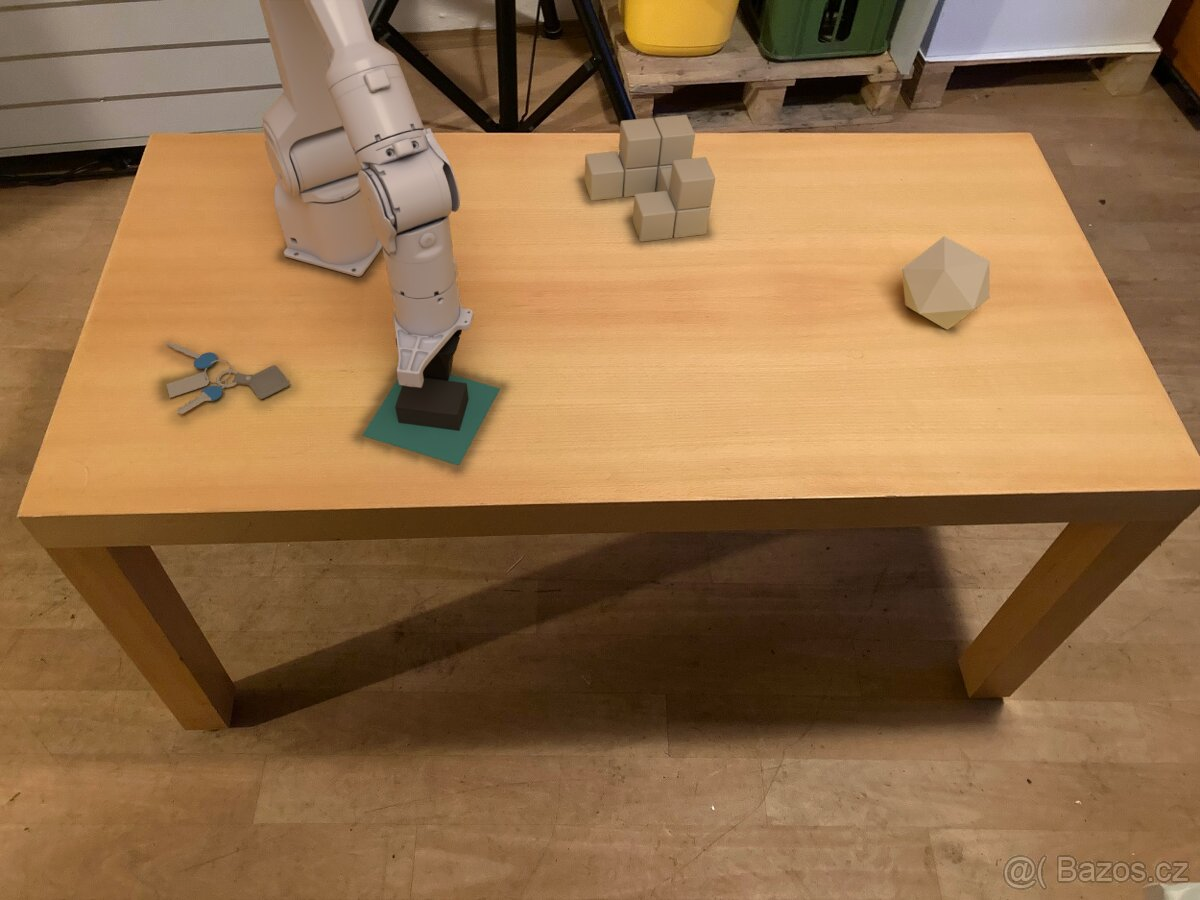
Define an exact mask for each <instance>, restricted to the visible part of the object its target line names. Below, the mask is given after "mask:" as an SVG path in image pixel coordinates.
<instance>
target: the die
mask: <svg viewBox="0 0 1200 900" xmlns="http://www.w3.org/2000/svg"><path fill="white" fill-rule="evenodd" d="M990 262H991V261H990V260H989V259H988V258H986V257H984V256H982V255H981V254H979V253H977V252H975V251H973V250H971V249H970V248H968V247H965V246H964V245H962V244H961V243H959V242H956V241H955V240H953V239H951V238H949V237H947V236H945V235H944V236H942V237H941V238H940V239H938V240H937V241H936V242H934V243H933V244H932V245H931V246H929V247H928V248H927V249H926V250H924V251H923V252H922V253H920V254H919V255H918V256H916V257H915V258H914V259H913V260H911V261H910V262H909V263H907V264H906V265H905V266H904V267H902V268H901V272H902V285H903V296H904V297H903V298H904V305H905V306H906V307H907V308H909V309H910V310H912V311H914V312H915V313H916V314H919V315H920V316H922V317H924V318H926V319H928V320H929V321H931V322H933V323H934V324H936V325H938V326H939V327H940V328H943V329H945V331H946V330H947V331H949V329H951V328H952V327H954V326H956V324H958V323H960V321H961V320H963V319H964V318H966V317H967V316H969V315H970V314H971V313H973V312H974V311H975V310H977V309H978V308H979V307H980V306H982V305H983V304H984V303H985V302H987V301H989V300H990V299H991V297H990V290H991V289H990V285H991V284H990V283H991V282H990V281H991V280H990V279H991V278H990V273H991V272H990V271H991V270H990V269H991V267H990V265H991V264H990Z"/></svg>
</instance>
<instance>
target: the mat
mask: <svg viewBox="0 0 1200 900" xmlns="http://www.w3.org/2000/svg"><path fill="white" fill-rule="evenodd" d="M423 377H424V376H423ZM448 381H454V382H461V383H467V390H468V398H469V400H468V403H467V407H466V410H465V414H464V417H463V421H462V424H461V428H460V431H456V430H449V429H441V428H434V427H426V426H419V425H412V424H404V423H399V422H398V418H397V413H396V409H395V405H396V402H397V399H398V397H399V394H400V391H401V388H402V385H399V381H398V378H397V379H396V380H395V382H394V384H393V385H392V387H391V389H390V390H389V391H388V394H387V395H386V397H385V398H384V399H383V402H382V403H381V405H379V408H378V410H377V411H376V412H375V414H374V416H373V418H372V419H371V420H370V422H369V424H368V426H367V427H366V428H365V430H364V431H363V433H362V437H365V438H368V439H372V440H375V441H378V442H381V443H383V444H384V443H385V444H387V445H391V446H393V447H397V448H401V449H404V450H406V451H407V450H408V451H410V452H414V453H416V454H420V455H423V456H425V457H426V456H427V457H430V458H433V459H435V460H439V461H443V462H445V463H449V464H452V465H456V466H460V465H461V463H462V462H463V459H464V457H465V455H466V454H467V452H468V450H469V448H470V446H471V445H472V443H473V440H474V439H475V438H476V435H477V433H478V431H479V429H480V427H481V425H482V423H483V422H484V420H485V418H486V416H487V414H488V412H489V411H490V408H491V407H492V405H493V403H494V401H495V400H496V398H497V396H498V393H499V392H500V390H501V388H500V387H498V386H497V387H496V386H493V385H490V384H487V383H483V382H479V381H477V380H473V379H470V378H467V377H463V376H460V375H456V374H452V373H450V377H449V380H448Z"/></svg>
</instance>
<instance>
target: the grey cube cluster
mask: <svg viewBox="0 0 1200 900" xmlns="http://www.w3.org/2000/svg"><path fill="white" fill-rule="evenodd" d="M619 125H620V128H619V142H618V151H617V150H614V151H605V152H596V153H595V152H593V153H586V154H585V156H584V181H583V182H584V185H585V187H586V190H587V193H588V196H589V199H590V201H601V200H611V199H621V198H623V197H624V198H630V197H634V199H633V207H632V223H633V226H634V229H635V232H636V234H637V237H638V240H639V242H640V243H642V242H651V241H659V240H661V241H662V240H668V239H669V240H670V239H672V238H674V239H678V238H686V237H694V236H704V235H706V234H707V231H708V224H709V217H710V213H711V206H712V201H713V195H714V189H715V188H714V187H715V182H716V177H715V174H714V172H713V170H712V168H711V165H710V163H709V161H708V159H707V157H705V156H703V157H693V152H694V145H695V138H696V133H695V130H694V129H693V126H692V123H691V121H690V120H689V117H688V115H687V114H680V115H668V116H657V117H655V118H653V117H647V118H637V119H627V120H626V119H625V120H621V121H620V124H619Z"/></svg>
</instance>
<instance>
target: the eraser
mask: <svg viewBox="0 0 1200 900" xmlns="http://www.w3.org/2000/svg"><path fill="white" fill-rule="evenodd" d="M423 378H424V377H423ZM468 400H469V398H468V390H467V383H461V382H454V381H446V380H439V379H431V378H424V382H423V385H422V387H421V388H419V387H409V386H403V385H402V388H401V391H400V394H399V397H398V399H397V402H396V405H395V409H396V413H397V418H398V422H399V423H404V424H412V425H419V426H426V427H434V428H441V429H449V430H456V431H460V428H461V424H462V421H463V417H464V414H465V410H466V407H467V403H468Z"/></svg>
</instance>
